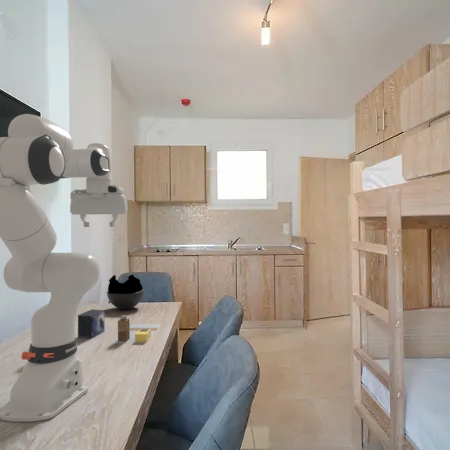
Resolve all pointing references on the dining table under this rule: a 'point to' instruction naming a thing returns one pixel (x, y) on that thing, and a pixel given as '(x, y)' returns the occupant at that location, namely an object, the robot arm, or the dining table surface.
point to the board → (135, 328)
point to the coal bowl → (125, 292)
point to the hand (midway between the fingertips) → (99, 226)
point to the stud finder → (143, 335)
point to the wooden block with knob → (123, 329)
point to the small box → (91, 324)
